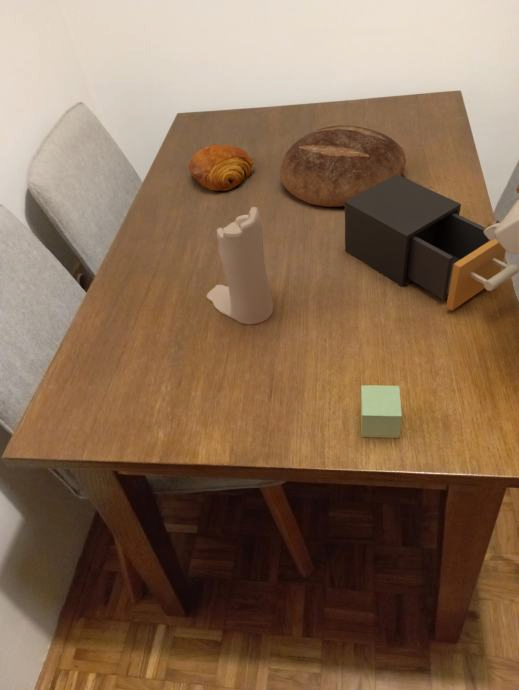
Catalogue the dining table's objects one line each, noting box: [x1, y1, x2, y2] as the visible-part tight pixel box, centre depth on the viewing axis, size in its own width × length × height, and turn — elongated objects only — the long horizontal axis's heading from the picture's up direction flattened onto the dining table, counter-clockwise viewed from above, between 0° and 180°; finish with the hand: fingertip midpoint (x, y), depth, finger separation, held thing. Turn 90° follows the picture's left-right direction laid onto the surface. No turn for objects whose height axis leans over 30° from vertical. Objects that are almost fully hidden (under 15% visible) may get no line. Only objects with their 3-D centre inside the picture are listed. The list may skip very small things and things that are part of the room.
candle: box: [206, 206, 274, 326], centre depth 86 cm, size 7×14×20 cm, turn 50°
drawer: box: [406, 212, 519, 311], centre depth 85 cm, size 18×11×9 cm, turn 36°
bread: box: [279, 125, 407, 208], centre depth 114 cm, size 26×27×10 cm
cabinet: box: [344, 174, 462, 288], centre depth 93 cm, size 15×13×11 cm
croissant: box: [187, 143, 254, 192], centre depth 123 cm, size 14×16×8 cm
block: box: [360, 384, 403, 439], centre depth 71 cm, size 5×5×5 cm
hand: (505, 211), depth 72 cm, fingers open, 8 cm apart
